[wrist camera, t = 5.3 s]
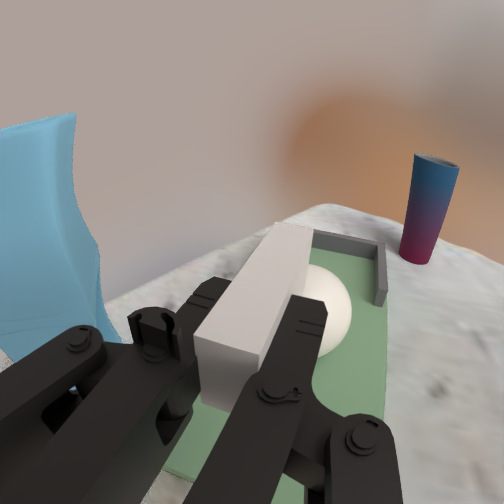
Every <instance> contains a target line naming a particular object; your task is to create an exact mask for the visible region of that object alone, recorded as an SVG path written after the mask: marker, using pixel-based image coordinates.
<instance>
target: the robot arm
mask: <svg viewBox="0 0 504 504" xmlns="http://www.w3.org/2000/svg"><path fill="white" fill-rule="evenodd" d="M313 232H314V229H311V228H306V227H301V226H296V225H291V224H286V223H280V222H275V223H274V224H273V226H272V227H271V228H270V230H269V231H268V233H267V234H266V235H265V237H264V238H263V239H262V241H261V242H260V244H259V245H258V246H257V248H256V249H255V251H254V252H253V253H252V255H251V256H250V257H249V259H248V260H247V262H246V263H245V264H244V266H243V267H242V268H241V270H240V271H239V273H238V274H237V275H236V277H235V278H234V279H233V281H230V280H226V279H222V278H218V277H212V278H211V279H209V280H207V281H205V282H203V283H201V284H200V285H199V287H198V288H197V289H196V290H195V291H194V292H193V295H191V296H190V297H189V298H188V299H187V301H186V303H184V304H183V305H182V306H181V308H180V309H179V310H178V311H177V312H176V314H175V313H174V312H172V311H170V310H168V309H166V308H161V307H145V308H142V309H139V310H137V311H134V312H133V313H132V314H130V315H129V316H127V318H128V322H129V326H130V330H131V334H132V338H133V341H134V343H133V344H122V343H114V342H107V341H104V339H103V336H102V334H101V333H100V331H99V330H98V329H97V328H95V327H93V326H91V325H78V326H74V327H71V328H69V329H67V330H65V331H64V332H62V333H61V334H59V335H58V336H56V337H54V338H53V339H51V340H50V341H48V342H47V343H45V344H44V345H42V346H40V347H39V348H37V349H36V350H34V351H33V352H31V353H30V354H28V355H27V356H25V357H24V358H22V359H21V360H19V361H18V362H16V363H14V364H13V365H11V366H10V367H8V368H7V369H5V370H4V371H2V372H1V373H0V504H140V503H141V501H142V499H143V498H144V496H145V495H146V493H147V491H148V490H149V488H150V487H151V485H152V483H153V482H154V480H155V479H156V477H157V475H158V474H159V472H160V470H161V469H162V467H163V466H164V464H165V462H166V461H167V459H168V457H169V456H170V454H171V452H172V451H173V449H174V447H175V446H176V444H177V442H178V441H179V439H180V437H181V436H182V434H183V432H184V431H185V429H186V427H187V426H188V424H189V422H190V420H191V419H192V415H193V412H194V411H193V403H194V401H195V400H196V398H197V396H198V395H199V393H200V398H201V403H203V404H206V405H209V406H211V407H214V408H217V409H220V410H223V411H226V412H229V413H230V415H229V417H228V419H227V421H226V423H225V425H224V427H223V429H222V431H221V433H220V435H219V437H218V439H217V441H216V443H215V444H214V446H213V448H212V450H211V452H210V454H209V456H208V458H207V460H206V461H205V463H204V465H203V467H202V469H201V471H200V473H199V475H198V476H197V478H196V480H195V482H194V484H193V486H192V487H191V489H190V491H189V493H188V495H187V496H186V498H185V500H184V502H183V503H182V504H271V502H272V499H273V497H274V494H275V492H276V489H277V486H278V484H279V481H280V478H281V475H282V473H284V474H285V475H287V476H288V477H290V478H292V479H293V480H295V481H297V482H298V483H300V484H302V485H304V504H403V499H402V491H401V483H400V475H399V468H398V462H397V455H396V449H395V443H394V438H393V435H392V433H391V430H390V428H389V427H388V426H387V425H386V424H385V423H384V422H383V421H382V420H381V419H379V418H377V417H375V416H373V415H370V414H362V413H358V414H352V415H348V416H346V417H343V416H341V415H339V414H337V413H335V412H334V411H332V410H330V409H328V408H327V407H326V406H324V405H323V404H322V403H321V402H320V401H319V400H318V399H317V398H316V396H315V394H314V392H313V389H312V376H313V373H314V369H315V365H316V362H317V358H318V354H319V350H320V346H321V342H322V338H323V334H324V330H325V326H326V321H327V317H328V311H327V309H326V306H325V303H324V301H320V300H315V299H311V298H306V297H302V294H303V291H304V288H305V282H306V276H307V270H308V264H309V258H310V251H311V245H312V239H313ZM74 386H75V387H76V389H75V390H70V389H71V388H72V387H74Z"/></svg>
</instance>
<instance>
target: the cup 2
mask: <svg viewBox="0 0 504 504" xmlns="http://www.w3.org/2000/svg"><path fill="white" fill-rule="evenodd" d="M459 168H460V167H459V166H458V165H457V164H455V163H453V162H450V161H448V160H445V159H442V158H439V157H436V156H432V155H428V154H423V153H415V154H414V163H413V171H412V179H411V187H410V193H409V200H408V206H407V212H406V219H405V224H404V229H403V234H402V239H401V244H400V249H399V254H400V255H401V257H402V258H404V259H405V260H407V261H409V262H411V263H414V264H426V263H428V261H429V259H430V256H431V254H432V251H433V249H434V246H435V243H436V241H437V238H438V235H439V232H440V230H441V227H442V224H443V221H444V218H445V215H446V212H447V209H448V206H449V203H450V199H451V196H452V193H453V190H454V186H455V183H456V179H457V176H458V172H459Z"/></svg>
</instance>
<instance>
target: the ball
mask: <svg viewBox="0 0 504 504" xmlns="http://www.w3.org/2000/svg"><path fill="white" fill-rule="evenodd" d="M302 297H306V298H311V299H315V300H320V301H324V303H325V306H326V309H327V311H328V317H327V321H326V326H325V330H324V334H323V338H322V342H321V346H320V350H319V354H318V357H321V356H323V355H325V354H327V353H329V352H330V351H332V350H333V349H334V348H336V347H337V346H338V345H339V343H340V342H341V341H342V340H343V338H344V337H345V335H346V333H347V331H348V329H349V326H350V322H351V317H352V306H351V300H350V297H349V294H348V291H347V289H346V288H345V286H344V284H343V283H342V282H341V280H340V279H339V278H338V277H337V276H336V275H334V274H333V273H332V272H330V271H329V270H327V269H325V268H323V267H320V266H317V265H312V264H308V270H307V276H306V282H305V288H304V291H303V294H302Z"/></svg>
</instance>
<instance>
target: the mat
mask: <svg viewBox="0 0 504 504" xmlns="http://www.w3.org/2000/svg"><path fill="white" fill-rule="evenodd" d="M309 264H312V265H317V266H320V267H323V268H325V269H327V270H329V271H330V272H332V273H333V274H334V275H336V276H337V277H338V278H339V279H340V280H341V282H342V283H343V284H344V286H345V288H346V289H347V291H348V294H349V297H350V300H351V306H352V317H351V322H350V326H349V329H348V331H347V333H346V335H345V337H344V338H343V340H342V341H341V342H340V343H339V345H338V346H337V347H336V348H334V349H333V350H332V351H330V352H329V353H327V354H325V355H323V356H321V357H318V358H317V362H316V365H315V369H314V373H313V376H312V389H313V392H314V394H315V396H316V398H317V399H318V400H319V401H320V402H321V403H322V404H323V405H324V406H326V407H327V408H328V409H330V410H332V411H334V412H335V413H337V414H339V415H341V416H343V417H346V416H348V415H352V414H358V413H362V414H370V415H373V416H375V417H377V418H379V419H381V420H382V421H383V417H384V404H385V389H386V368H387V295H386V298H385V301H384V304H383V307H377V306H373V302H374V260H371V259H366V258H361V257H356V256H352V255H347V254H342V253H337V252H332V251H327V250H322V249H317V248H312V247H311V251H310V258H309ZM193 411H194V412H193V415H192V419H191V420H190V422H189V424H188V426H187V427H186V429H185V431H184V432H183V434H182V436H181V437H180V439H179V441H178V442H177V444H176V446H175V447H174V449H173V451H172V452H171V454H170V456H169V457H168V459H167V461H166V462H165V464H164V466H163V467H162V469H163V470H166V471H168V472H170V473H172V474H174V475H177V476H179V477H181V478H184V479H186V480H188V481H191V482H193V483H194V482H195V480H196V478H197V476H198V475H199V473H200V471H201V469H202V467H203V465H204V463H205V461H206V460H207V458H208V456H209V454H210V452H211V450H212V448H213V446H214V444H215V443H216V441H217V439H218V437H219V435H220V433H221V431H222V429H223V427H224V425H225V423H226V421H227V419H228V417H229V415H230V413H229V412H226V411H223V410H220V409H217V408H214V407H211V406H209V405H206V404H203V403H201V398H200V393H199V395H198V396H197V398H196V400H195V401H194V403H193ZM271 504H304V485H302V484H300V483H298V482H297V481H295V480H293V479H292V478H290V477H288V476H287V475H285V474H284V473H282V475H281V478H280V481H279V484H278V486H277V489H276V492H275V494H274V497H273V499H272V502H271Z"/></svg>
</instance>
